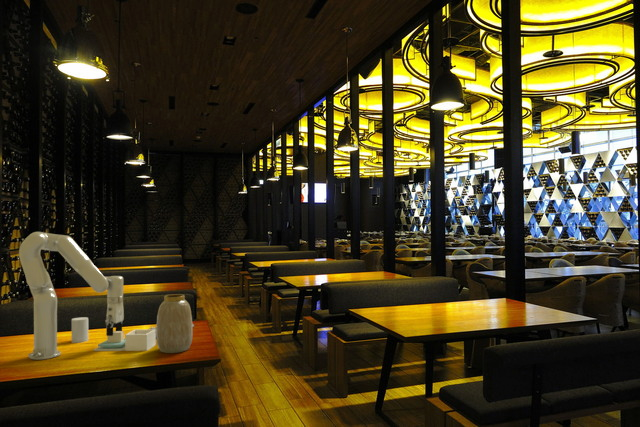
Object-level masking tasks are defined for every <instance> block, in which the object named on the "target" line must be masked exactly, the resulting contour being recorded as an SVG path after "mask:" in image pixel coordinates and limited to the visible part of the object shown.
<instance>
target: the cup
mask: <svg viewBox="0 0 640 427" xmlns="http://www.w3.org/2000/svg"><path fill="white" fill-rule="evenodd" d="M85 341H86V342H88V341H89V317H87V316H86V317H85V316H84V317H74V318H71V343H73V344H79V343H85Z"/></svg>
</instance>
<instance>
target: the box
mask: <svg viewBox="0 0 640 427" xmlns="http://www.w3.org/2000/svg"><path fill="white" fill-rule="evenodd" d="M124 339H125V350H124V351H126V352H129V351H131V352H133V351H134V352H137V351H138V352H140V351H141V352H143V351H144V352H145V351H146V352H147V351H149V350H150V349H152V348H153V347H155V346H156V345H157V339H156V333H155V330H148V329H133V330H131V331H129V332H128V333H125V334H124Z"/></svg>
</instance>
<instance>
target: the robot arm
mask: <svg viewBox="0 0 640 427" xmlns="http://www.w3.org/2000/svg"><path fill="white" fill-rule="evenodd" d="M41 250H43V251H49V252H51V251H52V252H58V254H60V255H61V256H62V257H63V258H64V260H65V261H66V262H67V263H68V264H69V265H70V266H71V267H72V269H73V270H74V271H75V272H76V273H77V274H79V276H80V277H82V278H83V279H84V280H85V281H86V283H87V284H88V285H89V286H90V287H91V288H92V289H93V291H94V292H96V293H104V292H106V291H107V292H106V293H107V294H106V296H107V297H106V300H107V301H106V304H107V307H106V308H107V309H106V319H105V320H104V322H105V326H106V327H105V328H106V335H105V336H106V337H107V336H113V331H114V324H115V331H123V321H124V319H125V318H124V317H125V313H124V312H125V311H124V277H123V276H121V275H111V276H104V275H103V273H102V272H101V271H100V270H99V269H98V267H97V266H96V265H94V263H93V261H92V260H91V259H90V258H89V256H88V255H87V254H86V253H85V252H84V251H83V249H82V248H81V247H80V246H79V245H78V243H77V242H76V241H75V240H74V239H73V238H72V236H70V235H64V234H55V233H49V232H42V231H34V232H32V233H30V234H29V235H28V236H27V237H26V238H25V239H24V240H23V241H22V243H21V244H20V246H19V250H18V256H19V261H20V264H21V267H22V269H23V273H24V275H25V279H26V281H25V282H26V283H27V285H28V286H29V290H30V293H31V295H32V297H33V349H32V352H30V353H28V358H29V359H30V360H34V361H35V360H36V361H38V360H39V361H41V360H49V359H54V358H56V357H59V356H60V355H61V354H62V353H61V351H60V350H58V296H57V293H56V290H55V289H54V285H53V283H52V281H51V277H50V274H49V272H48V271H47V270H46V267H45V265H44V262H43V258H42V256H41Z"/></svg>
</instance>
